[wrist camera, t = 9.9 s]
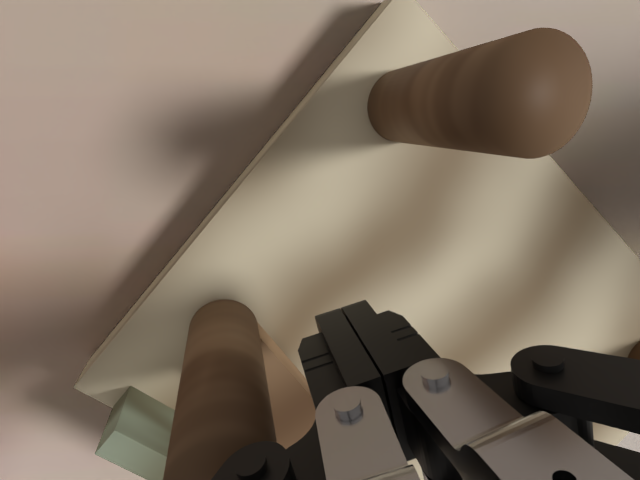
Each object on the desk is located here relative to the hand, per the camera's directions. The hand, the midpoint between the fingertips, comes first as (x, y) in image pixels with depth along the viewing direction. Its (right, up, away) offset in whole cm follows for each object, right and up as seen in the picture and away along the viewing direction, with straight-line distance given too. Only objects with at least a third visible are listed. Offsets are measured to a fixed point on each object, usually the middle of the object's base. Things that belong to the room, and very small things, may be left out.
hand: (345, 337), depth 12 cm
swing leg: (-2, -4, +5) cm, 6 cm away
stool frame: (+4, -2, +8) cm, 9 cm away
